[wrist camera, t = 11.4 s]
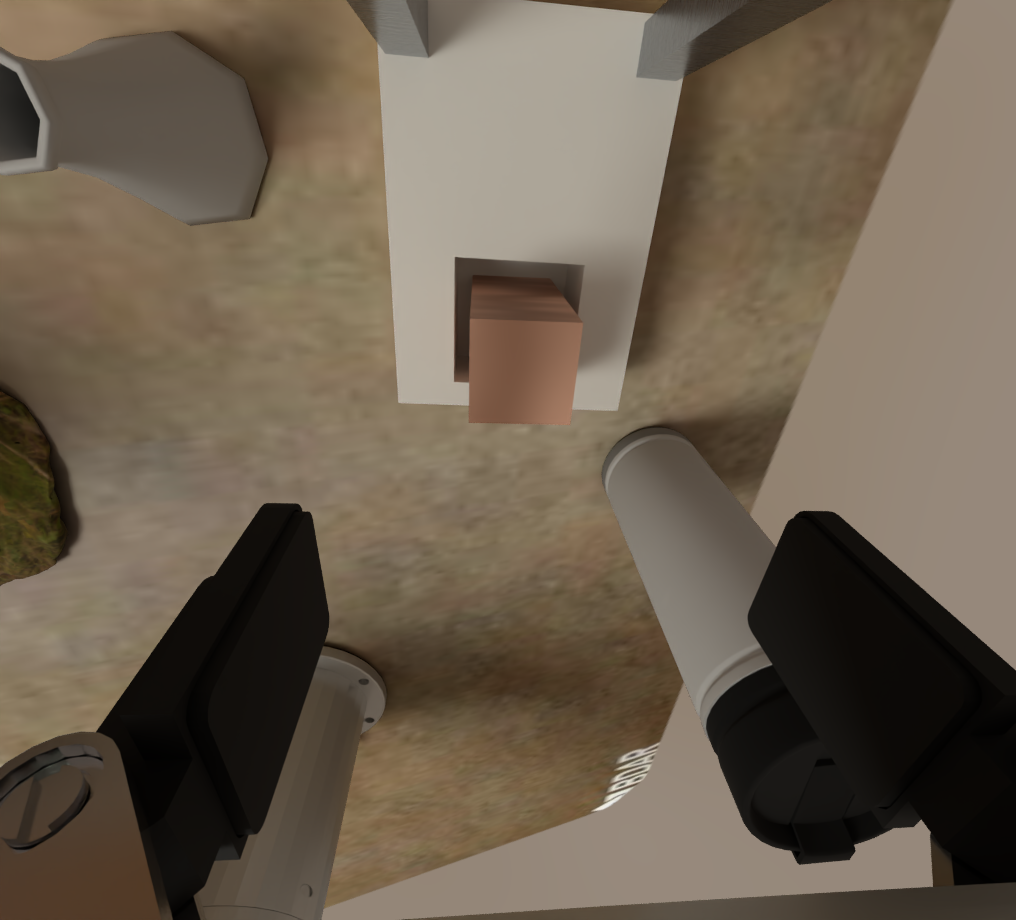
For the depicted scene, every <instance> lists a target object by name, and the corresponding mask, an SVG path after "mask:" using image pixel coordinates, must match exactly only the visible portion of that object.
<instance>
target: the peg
mask: <svg viewBox="0 0 1016 920" xmlns="http://www.w3.org/2000/svg"><path fill="white" fill-rule="evenodd" d="M582 330H583V322H582V320H581V319H580V318H579V316H578V315H577V314H576V312H575V311H574V310H573V308H572V307H571V306H570V304H569V303H568V302H567V300H566V299H565V298H564V296H563V295H562V294H561V292H560V291H559V290H558V288H557V287H556V286H555V284H554V283H553V282H552V280H551V279H550V278H531V277H508V276H486V275H473V277H472V292H471V307H470V345H469V423H511V424H556V425H570V422H571V414H572V406H573V399H574V391H575V383H576V376H577V368H578V360H579V353H580V345H581V337H582Z"/></svg>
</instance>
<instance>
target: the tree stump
mask: <svg viewBox="0 0 1016 920" xmlns="http://www.w3.org/2000/svg"><path fill="white" fill-rule="evenodd" d="M49 455H50V445H49V443H48V440H47V439H46V437H45V435H44V434H43V432H42V431H41V430H40V428H39V426H38V424H37V422H36V421H35V420H34V418H33V417H32V416H31V414H30V412H29V411H28V409H27V407H26V406H25V405H24V404H22V403H21V402H19V401H17V400H15V399H13V398H12V397H10V396H8V395H6V394H4V393H3V392H1V391H0V586H1V585H3V584H5V583H7V582H10V581H12V580H14V579H23V578H26V577H29V576H33V575H36V574H39V573H41V572H43V571H45V570H47V569H49V568H50V567H52V566H54V565H55V564H56V559H57V556H58V555H59V554H60V553H61V551H62V549H63V546H64V543H65V541H66V538H67V535H68V532H67V529H66V527H65V524H64V523H63V521H62V520H61V519H60V503H59V500H58V498H57V496H56V494H55V492H54V489H53V488H54V478H53V474H52V470H51V468H50V463H49Z"/></svg>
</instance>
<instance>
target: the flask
mask: <svg viewBox="0 0 1016 920" xmlns="http://www.w3.org/2000/svg"><path fill="white" fill-rule="evenodd" d="M267 161H268V156H267V153H266V149H265V146H264V143H263V139H262V136H261V133H260V130H259V126H258V123H257V120H256V116H255V113H254V110H253V106H252V103H251V100H250V96H249V93H248V90H247V86H246V83H245V80H244V78H243V77H241V76H239V75H238V74H236V73H235V72H233V71H232V70H230V69H229V68H227V67H226V66H224V65H223V64H221V63H220V62H218V61H217V60H215V59H214V58H212V57H211V56H209V55H208V54H206V53H204V52H203V51H201V50H200V49H198V48H197V47H195V46H194V45H192V44H191V43H189V42H188V41H186V40H185V39H183V38H182V37H180V36H179V35H177V34H176V33H174V32H173V31H167V32H158V33H149V34H140V35H131V36H122V37H113V38H104V39H100V40H97V41H94V42H92V43H90V44H88V45H86V46H84V47H82V48H80V49H78V50H76V51H74V52H72V53H70V54H67V55H64V56H61V57H58V58H55V59H52V60H30V59H26V58H22V57H18V56H15V55H13V54H11V53H10V52H8V51H6V50H5V49H3V48H1V47H0V174H1V175H17V174H26V173H35V172H44V171H53V170H55V169H57V168H58V167H61V168H65V169H68V170H72V171H76V172H79V173H83V174H86V175H90V176H94V177H97V178H99V179H101V180H103V181H105V182H107V183H109V184H111V185H113V186H115V187H117V188H119V189H121V190H123V191H125V192H128V193H130V194H132V195H134V196H136V197H138V198H140V199H142V200H143V201H145V202H147V203H149V204H151V205H153V206H154V207H156V208H158V209H160V210H162V211H164V212H165V213H167V214H169V215H171V216H173V217H175V218H176V219H178V220H180V221H182V222H184V223H186V224H188V225H190V226H191V225H200V224H209V223H218V222H227V221H236V220H245V219H250V216H251V213H252V210H253V206H254V203H255V200H256V197H257V193H258V190H259V187H260V184H261V180H262V177H263V174H264V171H265V167H266V164H267Z"/></svg>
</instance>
